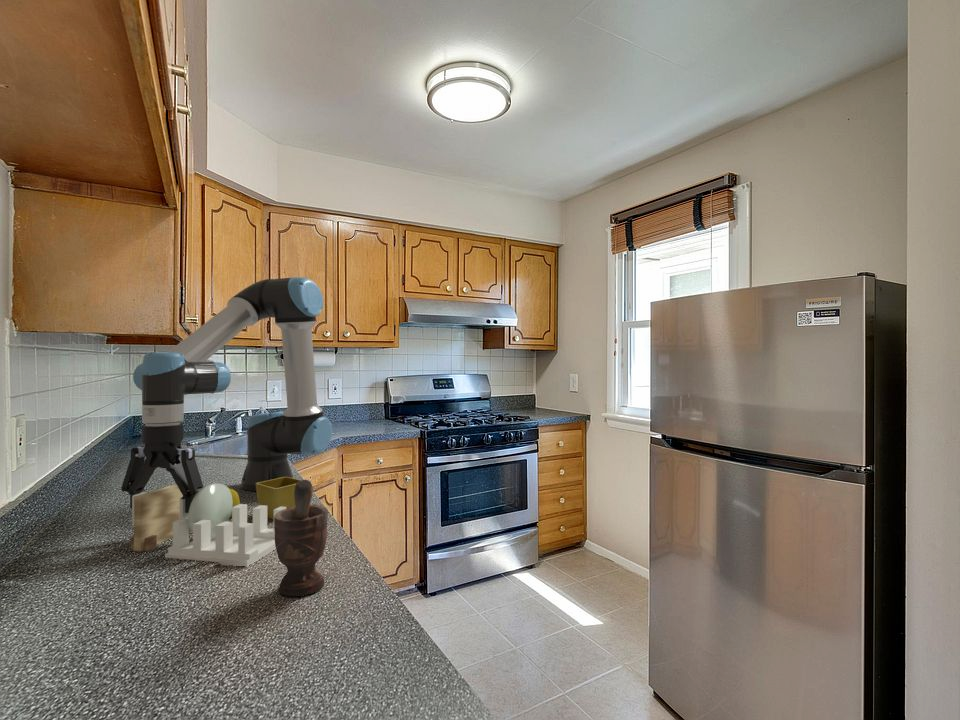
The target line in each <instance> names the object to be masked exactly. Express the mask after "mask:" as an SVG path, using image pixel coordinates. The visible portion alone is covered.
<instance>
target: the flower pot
mask: <svg viewBox="0 0 960 720" xmlns="http://www.w3.org/2000/svg"><path fill="white" fill-rule="evenodd" d="M301 480H302V479H299V478H295V477H293V478H290V477H281V478H277V479H272V480H268V481H263V482H258V483H256V491H255V492H256V498H257V504H258V506H259V505H265V506H267V519H271V520H274V509H276V508H278V507H280V506H281V507H286V508H289V507H294V506H296V505H295V499H294V491H295V486H296V484H297V483H298V482H299V481H301Z"/></svg>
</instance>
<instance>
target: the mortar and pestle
mask: <svg viewBox="0 0 960 720" xmlns="http://www.w3.org/2000/svg"><path fill="white" fill-rule="evenodd" d="M300 480H301V481H299V482H298V483H297V484H296V486H295V491H294V499H295V505H296V506H294V507H289V508H286V509H284V510H281V511H279V512H278V513H276V515H275V516H274V519H273V525H274V529H275V546H276V549H275V550H276V553H277V554H276V555H277V557H278V561H280V563H281V564H282V565H284V566H285V567H286V569H287V571H286V573H285V574H284V576H283V577H282V578H281V581H280V583H279V586H278V592H279V594H280V595H282V596H287V597H297V596H302V597H304V596H303V595H306V596H309V595H308V594H311V593H314V592H316V591H317V592H319V591H320V590H322V587H324V585H325V578H324V574H323V573H322V572H320V571H319V570H318V569H317V568H316V563H317V562H318V561H320V559H321V558H322V556H323V554H324V552H325V548H326V545H327V538H328V518H329V517H328V516H329V515H328V514H329V509H328V508H327V507H326V506H323V505H320V504H316V503H315V504H311V502H312V500H313V499H312V498H313V492H314V487H313V484H312V482H311V481H310V480H308V479H300ZM319 589H320V590H319ZM317 592H316V593H317ZM314 594H315V593H314ZM311 595H312V594H311Z"/></svg>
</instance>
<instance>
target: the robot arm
mask: <svg viewBox="0 0 960 720" xmlns="http://www.w3.org/2000/svg"><path fill="white" fill-rule="evenodd" d="M323 297H324V296H323V294H322V291H321V289H320V288H319V286H318V285H317V283H316V282H315V281H314V280H312V279H311V278H308V277H298V276H296V277H285V278H284V277H283V278H282V277H281V278H265V279H262V280H259V281H256V282H254V283H252V284H250V285H249V286H247V287H245V288H244V289H242V290H241V291H239V292H237V293H236V294H235V295H234V296H232V297H231V298H230V299H228V301H227V303H226V307H224V308H223V309H222V310H220V311H219V312H218V313H216V314H215V315H213V316H212V317H211V318H210V319H209V320H207V321H206V322H205V323H204V324H202V325H201V326H199V328H197V329H195V330H194V331H193V332H192V333H191V334H189V335H188V336H186V337H185V338H184V339H183V340H181V341H179V343H177V344H176V345H175V346H174V347H173V348H171V349H170V350H169V351H166V352H164V351H163V352H161V351H160V352H159V351H157V352H156V351H155V352H146V353H145V354H144V355H143V359H142V363H140V364H138V365H137V366H136V367H135V369H134V370H133V373H132V380H133V383H134V385H135V386H136V388H138V389H139V390H141V423H142V424H145V425H143V426H142V427H141V443H142V444H144V445H142V446H136V447H131V449H130V460H129V463H128V466H127V469H126V472H125V476H124V478H123V481H122V484H121V487H120V489H121V491H122V492H123V493H124V492H126V493H127V494H128V495H129V508H130V510H131V527H134V497H135V496H138V495H141V494H144V493H146V492H145V491H146V489H145V488H146V486H147V484H148V482H149V480H150V479H151V477H152V476H153V474H154V472H155V471H156V469H157V468H161V469H165V470H166V471H167V472H169V473H170V475H171V477H172V478H173V480H174V483H175V484H177V486H178V488H179V490H180V491H181V493H182V495H183V497H182V498H180V518H179V520H180V519H183V518H184V519H188V513H189V508H190V505H191V503H192V500H193V498H194V497H195V495H196V494H197V493H198V491H199V490H200V489H201V488H203V487H204V484H203V481H202V477H201V473H200V471H199V468H198V465H197V460H196V450H195V448H194V447H190V448H183V447H182V444H181V443H182V441H183V440H184V439H185V437H184V425H183V423H182V422H183V421H185V416H184V415H185V409H184V404H185V396H187V395H200V394H201V395H202V394H215V393H222V392H224V391H225V390H227V389H228V387H229V386H230V384H231V382H232V373H231V370H230V368H229V367H228V366H227V364H225V363H223V362H219V361H218V362H217V361H207V360H209V359H210V358H212V357H213V356H214V355H215V354H216V353H217V352H219V350H221V349H222V348H223V347H224V346H226V345H227V344H228V343H229V342H230V341H232V339H234V338H235V337H236V336H237V335H238V334H239V333H240V332H242V331H243V330H244V329H245V328H247V327H251V326H254V325H256V324H257V322H259V321H261V320H264V319H268V318H269V319H270V318H274V323H275V324H274V325H276V326H277V327H278V328H280V330H281V342H282V344H281V345H282V354H283V366H284V367H283V368H284V380H285V392H286V393H285V394H286V406H287V407H286V409H285V410H283V411H276V412H267V413H260V414H259V413H257V414H253V415H250V417H249V418H248V420H247V421H248V422H247V427H246V430H247V433H246V436H247V439H246V441H247V443H246V444H247V462H246V467H245V469H244V471H243V475H242V478H241V480H240V482H241V484H240V486H241V487H240V488H241V489H242V490H244V491H248V492H249V491H250V492H256V483H258V482H263V481H268V480H272V479H277V478H281V477H290V478H294V474H293V472H292V469H291V465H290V463H289V460H288V457H289V456H288V455H301V456H302V455H303V456H306V457H307V456H316V455H320V454H322V453H323V452H324V451H325V450H326V449H327V448H328V446H329V443H330V442H331V440H332V435H333V424H332V422H331V421H330V419H329V418H327V417H326V416H324V410H323V408H322V407H321V406H320V405H319V404H318V400H317V399H318V397H317V383H316V372H315V371H316V370H315V358H314V345H313V331H312V330H313V329H312V328H313V327H314V325H315V324H316V323H317V317H318V316H320V314H321V313H322V311H323V310H322V309H323V308H324V298H323Z"/></svg>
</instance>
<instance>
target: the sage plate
mask: <svg viewBox="0 0 960 720" xmlns="http://www.w3.org/2000/svg"><path fill="white" fill-rule="evenodd" d="M228 488H229V487H228V486H226V485H225V484H223V483H215V482H214V483H213V482H212V483H208V484H205V485H203V488H201V489H200V490H199V491H198V493H197V494H196V495H195V497H194V498H193V500H192V503H191V505H190V508H189V513H188V524H189V528H190V531H191V532H190V533H191V534H192V535H193V524H194V523H197V522H199V521H201V520H211V538H213V537H215V536H216V525H218V524H220V523H222V522H225V521H227V522H230V521H229V520H230V519H231V517H230V516H231V512H232V506H233V500H232V495H231V492H230V490H229V489H228Z"/></svg>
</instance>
